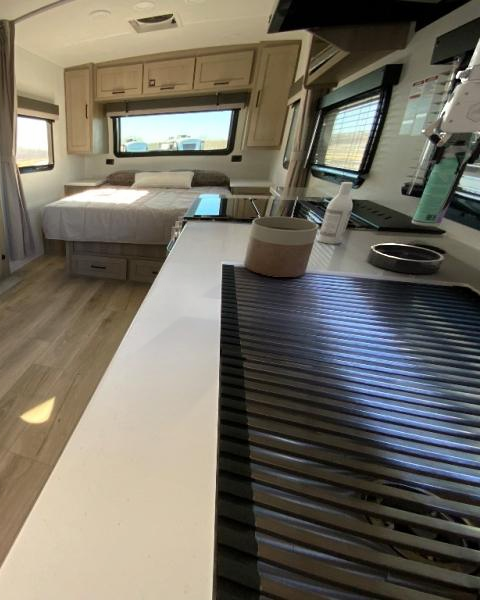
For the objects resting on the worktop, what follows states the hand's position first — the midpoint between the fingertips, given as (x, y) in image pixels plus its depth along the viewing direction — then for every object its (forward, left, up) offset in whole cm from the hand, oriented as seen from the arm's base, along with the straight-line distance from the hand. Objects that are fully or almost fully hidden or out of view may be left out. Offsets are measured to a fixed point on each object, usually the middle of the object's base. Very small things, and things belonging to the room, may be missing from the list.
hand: (451, 162), depth 80 cm
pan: (0, -4, -28) cm, 28 cm away
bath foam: (+15, -23, -28) cm, 39 cm away
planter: (+33, +12, -28) cm, 45 cm away
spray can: (0, 0, -15) cm, 15 cm away
